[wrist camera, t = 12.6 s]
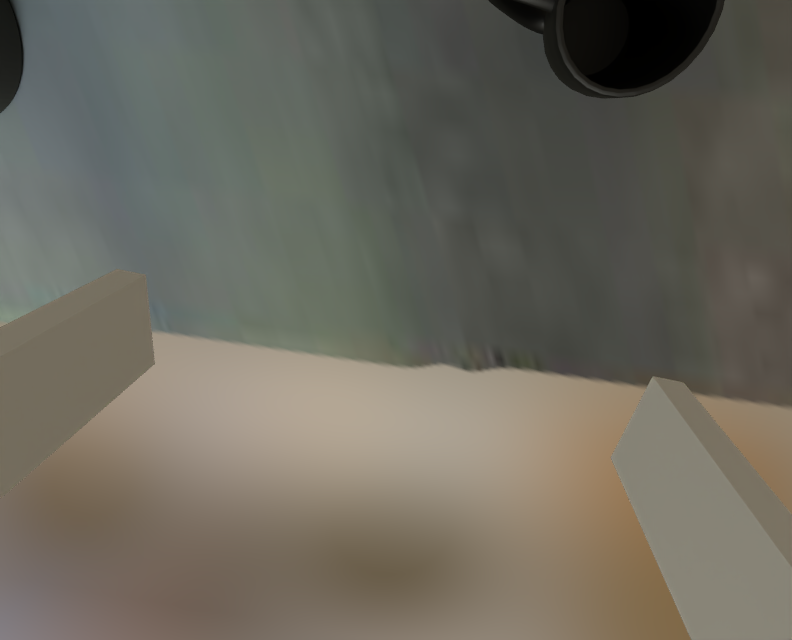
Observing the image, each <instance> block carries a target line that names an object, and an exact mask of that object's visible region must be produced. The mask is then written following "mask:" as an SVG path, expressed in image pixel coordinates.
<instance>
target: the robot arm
mask: <svg viewBox="0 0 792 640" xmlns="http://www.w3.org/2000/svg"><path fill="white" fill-rule="evenodd" d="M21 69H22V51H21V42H20V36H19V31H18V27H17V23H16V20H15V17H14V14H13V11H12V8H11V6H10V3H9V1H8V0H0V113H1V112H2V111H3V110H4V109H5V108H6V107H7V106H8V105H9V104H10V102H11V101H12V99H13V97H14V95H15V93H16V91H17V88H18V85H19V81H20V77H21ZM154 364H155V361H154V351H153V341H152V331H151V322H150V312H149V302H148V292H147V283H146V275H144V274H139V273H134V272H129V271H124V270H119V269H116V270H114V271H112V272H110V273H108V274H106V275H104V276H102V277H100V278H98V279H96V280H94V281H92V282H90V283H88V284H86V285H84V286H82V287H80V288H78V289H76V290H74V291H72V292H70V293H68V294H66V295H64V296H62V297H60V298H58V299H56V300H54V301H52V302H50V303H48V304H46V305H44V306H42V307H40V308H38V309H36V310H34V311H32V312H30V313H28V314H26V315H24V316H22V317H20V318H18V319H16V320H14V321H12V322H10V323H8V324H6V325H4V326H2V327H0V499H1V498H2V497H3V496H5V495H6V494H7V493H8V492H9V491H10V490H11V489H13V488H14V487H15V486H16V485H17V484H18V483H19V482H21V481H22V480H23V479H24V478H25V477H26V476H27V475H28V474H30V473H31V472H32V471H33V470H34V469H35V468H36V467H38V466H39V465H40V464H41V463H42V462H43V461H44V460H46V459H47V458H48V457H49V456H50V455H51V454H52V453H54V452H55V451H56V450H57V449H58V448H59V447H60V446H61V445H63V444H64V443H65V442H66V441H67V440H68V439H70V438H71V437H72V436H73V435H74V434H75V433H76V432H77V431H79V430H80V429H81V428H82V427H83V426H84V425H85V424H87V423H88V422H89V421H90V420H91V419H92V418H93V417H95V416H96V415H97V414H98V413H99V412H100V411H101V410H103V409H104V408H105V407H106V406H107V405H108V404H109V403H111V402H112V401H113V400H114V399H115V398H116V397H117V396H119V395H120V394H121V393H122V392H123V391H124V390H125V389H127V388H128V387H129V386H130V385H131V384H132V383H133V382H135V381H136V380H137V379H138V378H139V377H140V376H141V375H142V374H144V373H145V372H146V371H147V370H148V369H149V368H150V367H152V366H153V365H154ZM611 460H612V462H613V464H614V466H615V469H616V471H617V473H618V475H619V478H620V480H621V482H622V484H623V487H624V489H625V491H626V493H627V496H628V498H629V500H630V503H631V505H632V507H633V509H634V511H635V514H636V516H637V518H638V520H639V523H640V525H641V527H642V530H643V532H644V534H645V536H646V539H647V541H648V543H649V546H650V548H651V550H652V552H653V554H654V556H655V559H656V561H657V564H658V566H659V568H660V570H661V573H662V575H663V577H664V579H665V582H666V584H667V586H668V588H669V591H670V593H671V595H672V597H673V600H674V602H675V604H676V606H677V609H678V611H679V613H680V616H681V618H682V620H683V622H684V624H685V627H686V629H687V631H688V634H689V636H690V638H691V640H792V514H791V513H790V512H789V511H788V509H787V508H786V507H785V506H784V504H783V503H782V502H781V501H780V500H779V498H778V497H777V496H776V495H775V493H774V492H773V491H772V490H771V489H770V487H769V486H768V485H767V484H766V482H765V481H764V480H763V479H762V478H761V476H760V475H759V474H758V473H757V471H756V470H755V469H754V468H753V467H752V465H751V464H750V463H749V462H748V461H747V459H746V458H745V457H744V456H743V454H742V453H741V452H740V451H739V450H738V448H737V447H736V446H735V445H734V444H733V442H732V441H731V440H730V439H729V437H728V436H727V435H726V434H725V432H724V431H723V430H722V429H721V428H720V426H719V425H718V424H717V423H716V421H715V420H714V419H713V418H712V417H711V415H710V414H709V413H708V412H707V411H706V409H705V408H704V407H703V406H702V405H701V403H700V402H699V401H698V400H697V398H696V397H695V396H694V395H693V393H692V392H691V391H690V390H689V389H688V387H687V386H686V385H685V384H684V382H679V381H674V380H669V379H664V378H659V377H654V376H653V377H652V379H651V381H650V383H649V385H648V387H647V388H646V390H645V392H644V394H643V396H642V398H641V400H640V402H639V404H638V406H637V408H636V410H635V412H634V414H633V416H632V417H631V419H630V421H629V423H628V425H627V427H626V429H625V431H624V433H623V435H622V437H621V439H620V441H619V443H618V445H617V447H616V448H615V451H614V453H613V454H612V456H611Z"/></svg>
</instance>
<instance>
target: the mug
mask: <svg viewBox="0 0 792 640" xmlns="http://www.w3.org/2000/svg"><path fill="white" fill-rule="evenodd" d="M489 1H490V2H491V3H492V4H493V5H494V6H495V7H497V8H498V9H499V10H501V11H502V12H503V13H505V14H506V15H507V16H509V17H510V18H512V19H513V20H514V21H516V22H517V23H519V24H521V25H522V26H524V27H526V28H528V29H530V30H532V31H534V32H537V33H540V34H543V41H544V48H545V54H546V57H547V59H548V62H549V64H550V67H551V68H552V70H553V71H554V73H555V74H556V75H557V77H558V78H559V80H561V81H562V82H563V83H564V84H565V85H567V86H568V87H569V88H570V89H572V90H575V91H577V92H579V93H581V94H584V95H586V96H591V97H597V98H622V97H634V96H638V95H641V94H644V93H647V92H650V91H653V90H655V89H657V88H659V87H661V86H662V85H664V84H666V83H668V82H670V81H671V80H672V79H674V78H675V77H676V76H677V75H679V74H680V73H681V72H682V71H684V70H685V69H686V68H687V67H688V66H689V65H690V64H691V63H692V61H693V60H694V59H695V58H696V57H697V56H698V55H699V53H700V52H701V51H702V50H703V48H704V47H705V45H706V43H707V42H708V40H709V38H710V37H711V35H712V34H713V32H714V30H715V28H716V25H717V23H718V20H719V18H720V15H721V13H722V10H723V6H724V1H725V0H489Z"/></svg>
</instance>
